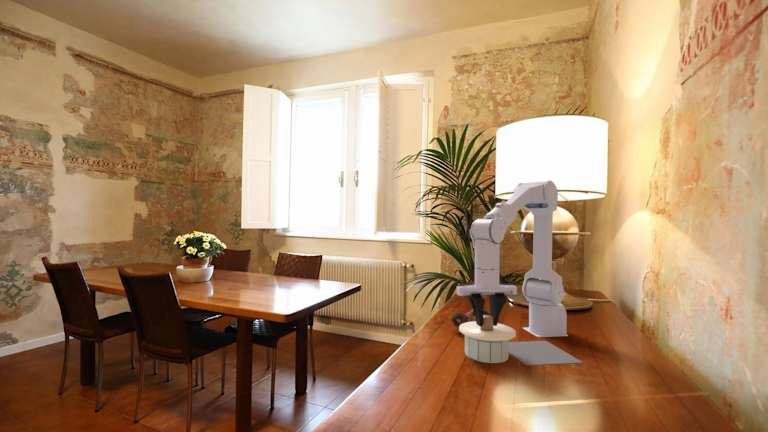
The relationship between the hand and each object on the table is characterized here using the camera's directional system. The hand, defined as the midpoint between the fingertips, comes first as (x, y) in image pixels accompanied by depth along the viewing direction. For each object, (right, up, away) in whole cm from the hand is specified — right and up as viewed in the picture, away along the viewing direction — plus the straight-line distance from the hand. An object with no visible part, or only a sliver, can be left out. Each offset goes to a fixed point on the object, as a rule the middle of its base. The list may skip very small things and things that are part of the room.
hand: (486, 324), depth 82 cm
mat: (+13, -8, +2) cm, 15 cm away
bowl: (0, -8, 0) cm, 8 cm away
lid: (0, -2, 0) cm, 2 cm away
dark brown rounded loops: (+1, -8, +16) cm, 18 cm away
